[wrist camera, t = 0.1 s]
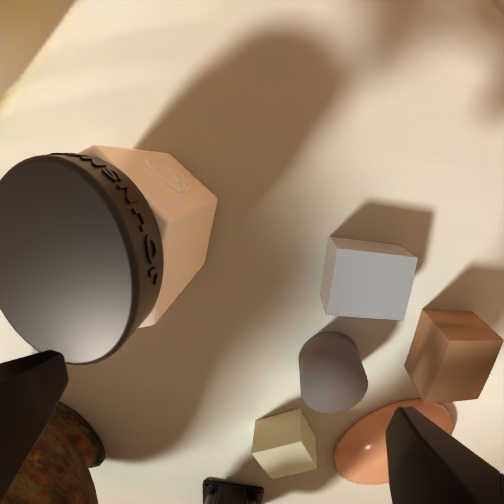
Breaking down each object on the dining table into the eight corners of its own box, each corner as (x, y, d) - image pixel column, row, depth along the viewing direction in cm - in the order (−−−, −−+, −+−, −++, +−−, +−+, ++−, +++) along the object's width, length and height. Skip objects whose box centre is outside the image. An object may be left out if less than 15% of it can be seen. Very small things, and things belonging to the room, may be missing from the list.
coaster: (422, 474, 26) (423, 479, 25) (321, 480, 27) (322, 486, 26) (468, 395, 23) (471, 400, 22) (353, 399, 24) (355, 405, 23)
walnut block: (453, 364, 22) (477, 398, 17) (403, 365, 23) (424, 403, 18) (472, 311, 21) (503, 340, 16) (421, 308, 21) (449, 340, 17)
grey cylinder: (349, 381, 23) (358, 414, 19) (294, 378, 24) (295, 411, 20) (362, 333, 22) (375, 363, 18) (303, 329, 22) (307, 359, 19)
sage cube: (315, 435, 25) (317, 468, 21) (273, 446, 26) (271, 479, 22) (299, 407, 24) (301, 441, 20) (255, 419, 25) (251, 453, 21)
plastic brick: (387, 299, 22) (403, 320, 18) (320, 293, 22) (326, 314, 18) (398, 244, 20) (418, 257, 17) (328, 235, 21) (337, 248, 17)
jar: (246, 219, 21) (200, 280, 9) (169, 301, 23) (85, 405, 11) (149, 130, 20) (26, 103, 8) (85, 218, 22) (-39, 259, 10)
